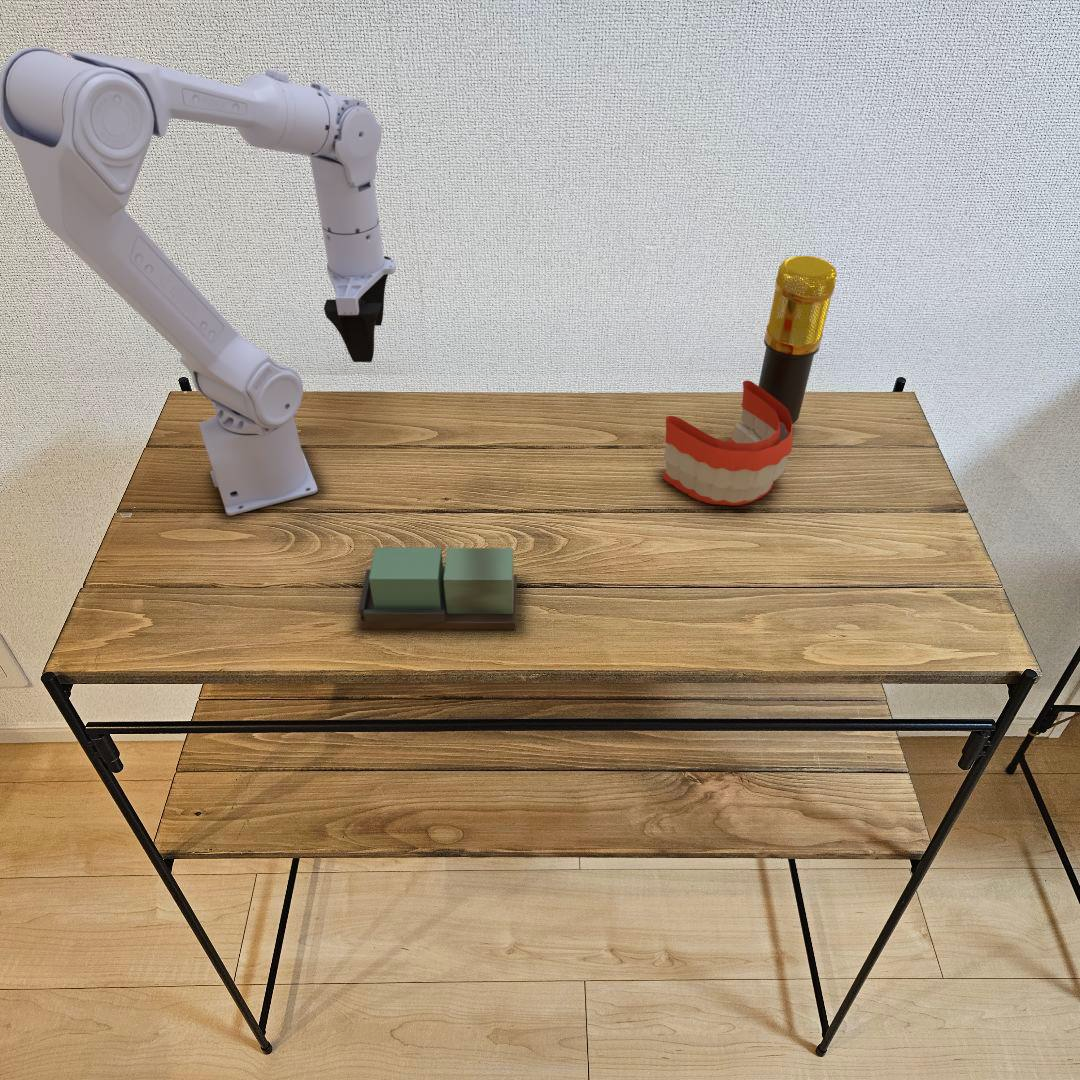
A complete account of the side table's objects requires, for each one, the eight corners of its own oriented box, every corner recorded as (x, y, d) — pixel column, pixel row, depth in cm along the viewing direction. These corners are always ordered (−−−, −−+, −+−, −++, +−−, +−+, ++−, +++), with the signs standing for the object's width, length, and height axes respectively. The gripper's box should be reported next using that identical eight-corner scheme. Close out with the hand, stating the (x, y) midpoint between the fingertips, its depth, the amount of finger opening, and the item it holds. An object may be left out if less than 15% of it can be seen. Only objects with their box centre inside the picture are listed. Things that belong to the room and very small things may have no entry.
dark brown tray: (361, 629, 80) (352, 587, 76) (370, 581, 85) (362, 540, 81) (515, 629, 80) (514, 587, 76) (517, 582, 85) (516, 540, 81)
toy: (723, 532, 90) (735, 470, 84) (655, 479, 96) (662, 418, 90) (807, 485, 95) (823, 424, 90) (737, 438, 101) (749, 378, 96)
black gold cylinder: (867, 438, 101) (919, 275, 88) (754, 443, 101) (788, 280, 87) (850, 409, 106) (897, 249, 92) (742, 414, 105) (772, 253, 91)
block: (375, 613, 80) (368, 578, 77) (380, 581, 83) (374, 547, 80) (441, 613, 80) (437, 579, 77) (444, 581, 83) (441, 547, 80)
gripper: (380, 255, 84) (396, 377, 93) (398, 193, 94) (410, 309, 104) (306, 255, 84) (329, 377, 93) (332, 193, 94) (350, 309, 104)
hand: (367, 341), depth 98 cm, fingers open, 7 cm apart
